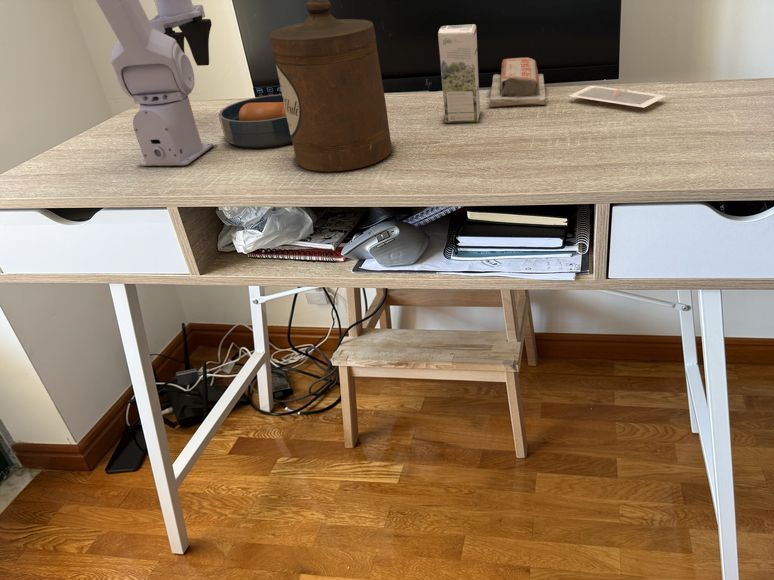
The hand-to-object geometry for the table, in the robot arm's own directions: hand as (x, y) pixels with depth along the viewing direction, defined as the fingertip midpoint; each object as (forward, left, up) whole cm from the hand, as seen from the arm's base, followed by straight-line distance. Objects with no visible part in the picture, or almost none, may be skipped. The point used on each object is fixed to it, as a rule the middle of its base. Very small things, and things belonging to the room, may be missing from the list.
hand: (192, 70), depth 118 cm
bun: (-6, -15, -9) cm, 19 cm away
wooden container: (-17, -32, -10) cm, 37 cm away
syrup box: (+1, -47, -10) cm, 48 cm away
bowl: (-6, -15, -9) cm, 19 cm away
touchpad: (+9, -73, -10) cm, 74 cm away
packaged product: (+16, -55, -10) cm, 58 cm away
